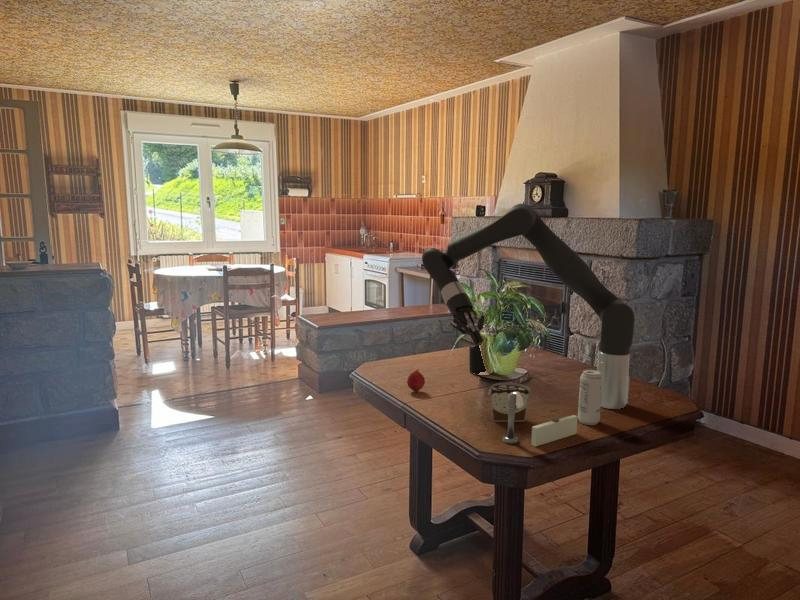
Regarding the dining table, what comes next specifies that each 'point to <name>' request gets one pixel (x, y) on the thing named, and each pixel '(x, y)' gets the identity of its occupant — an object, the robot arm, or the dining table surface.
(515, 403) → the post
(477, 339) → the robot arm
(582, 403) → the energy drink can
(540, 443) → the rail
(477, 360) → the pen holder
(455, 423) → the dining table surface
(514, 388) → the food container
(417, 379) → the onion
